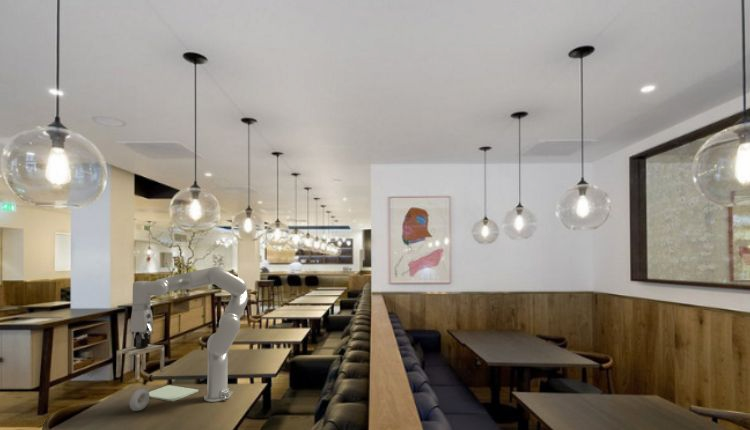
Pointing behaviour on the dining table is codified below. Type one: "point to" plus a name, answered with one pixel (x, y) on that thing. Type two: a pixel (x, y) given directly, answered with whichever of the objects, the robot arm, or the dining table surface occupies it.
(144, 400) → the donut
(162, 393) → the mat
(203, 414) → the dining table surface
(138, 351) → the miniature stool
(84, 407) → the dining table surface
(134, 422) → the dining table surface
